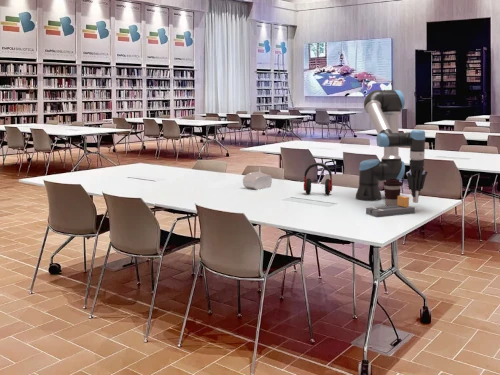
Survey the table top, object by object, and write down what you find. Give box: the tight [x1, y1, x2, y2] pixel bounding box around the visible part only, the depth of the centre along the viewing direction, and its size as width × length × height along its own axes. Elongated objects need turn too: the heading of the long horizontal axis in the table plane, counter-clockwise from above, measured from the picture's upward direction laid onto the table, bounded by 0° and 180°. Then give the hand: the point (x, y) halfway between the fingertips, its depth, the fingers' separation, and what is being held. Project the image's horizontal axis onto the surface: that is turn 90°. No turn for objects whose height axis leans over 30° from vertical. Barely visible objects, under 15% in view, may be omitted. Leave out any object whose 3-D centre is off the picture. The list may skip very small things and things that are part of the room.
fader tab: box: [397, 194, 410, 207], centre depth 325 cm, size 6×3×7 cm, turn 22°
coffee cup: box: [383, 179, 403, 206], centre depth 342 cm, size 10×10×15 cm
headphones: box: [303, 162, 333, 196], centre depth 379 cm, size 18×10×20 cm, turn 79°
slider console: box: [365, 205, 416, 218], centre depth 323 cm, size 10×24×3 cm, turn 112°
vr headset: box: [242, 166, 273, 190], centre depth 405 cm, size 18×11×14 cm, turn 137°
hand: (415, 202), depth 328 cm, fingers closed
